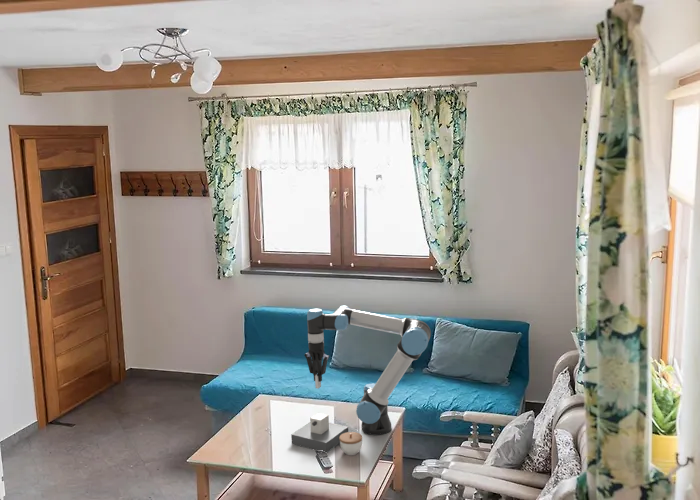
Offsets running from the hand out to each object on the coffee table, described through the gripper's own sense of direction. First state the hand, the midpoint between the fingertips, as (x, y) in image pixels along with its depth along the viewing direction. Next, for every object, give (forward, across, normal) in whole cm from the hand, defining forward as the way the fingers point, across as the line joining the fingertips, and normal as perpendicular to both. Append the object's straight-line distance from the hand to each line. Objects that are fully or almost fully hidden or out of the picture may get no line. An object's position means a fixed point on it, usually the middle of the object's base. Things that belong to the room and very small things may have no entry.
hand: (318, 387), depth 339 cm
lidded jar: (+26, -22, +9) cm, 35 cm away
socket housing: (+26, -2, +4) cm, 26 cm away
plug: (+24, -2, +4) cm, 24 cm away
